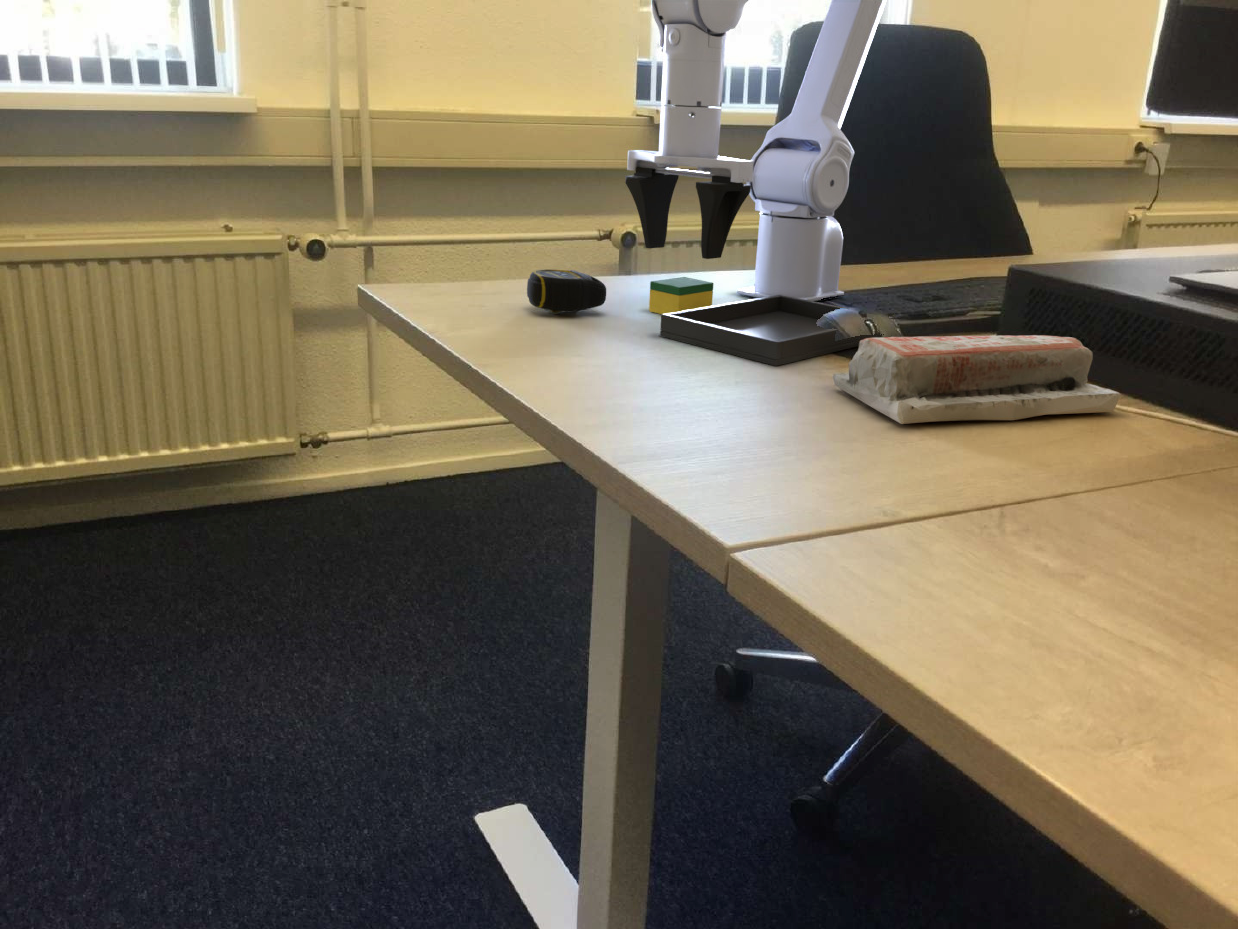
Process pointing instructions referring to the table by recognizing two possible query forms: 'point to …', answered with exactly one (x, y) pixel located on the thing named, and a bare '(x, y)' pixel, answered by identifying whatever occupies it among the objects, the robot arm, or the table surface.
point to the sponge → (679, 295)
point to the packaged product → (974, 378)
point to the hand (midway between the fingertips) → (682, 252)
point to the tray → (760, 329)
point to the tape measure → (564, 290)
